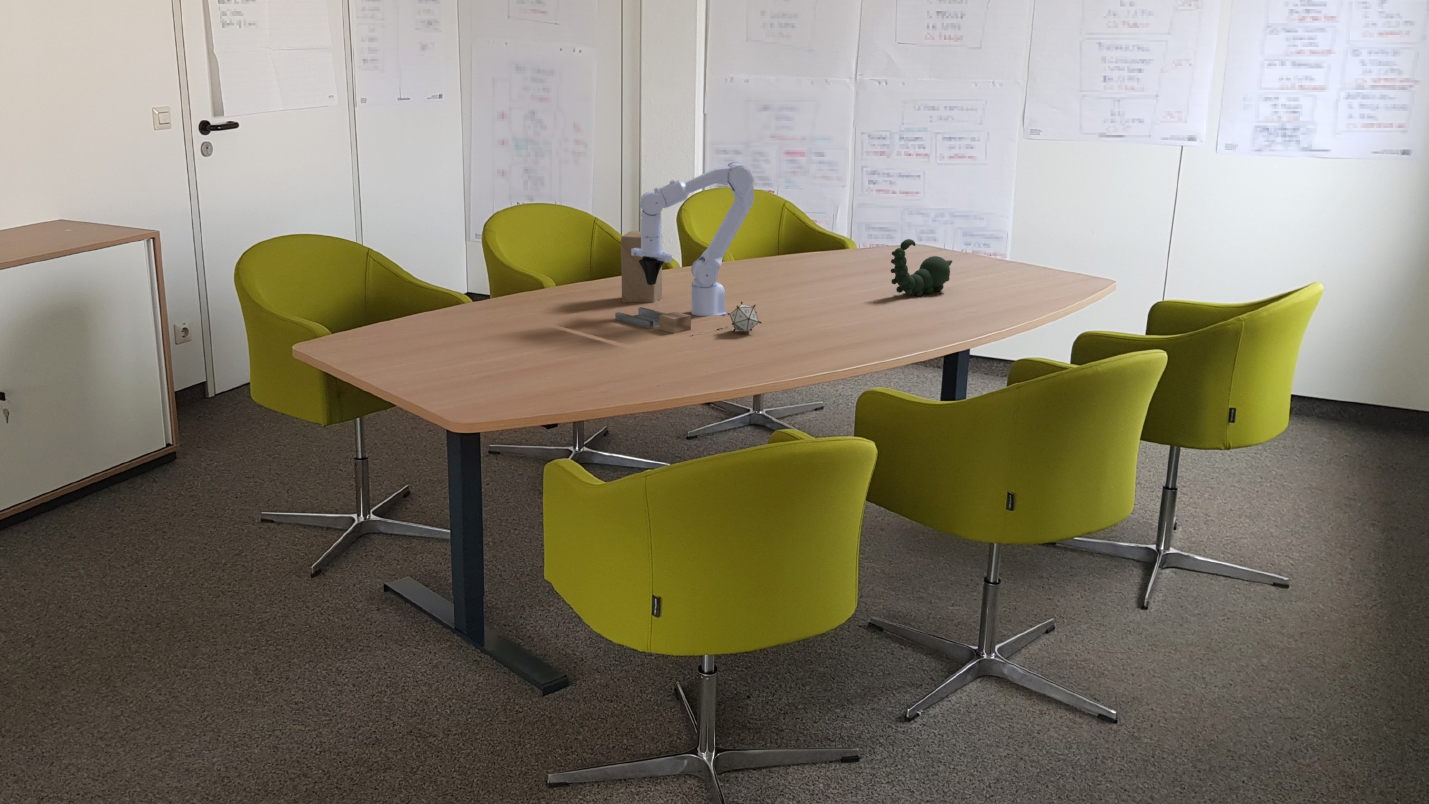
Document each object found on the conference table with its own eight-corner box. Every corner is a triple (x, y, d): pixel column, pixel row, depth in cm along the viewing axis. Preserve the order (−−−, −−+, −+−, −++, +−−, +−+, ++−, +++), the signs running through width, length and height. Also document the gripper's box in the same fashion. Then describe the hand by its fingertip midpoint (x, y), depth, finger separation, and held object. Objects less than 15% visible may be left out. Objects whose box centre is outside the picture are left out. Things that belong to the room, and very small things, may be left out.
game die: (741, 347, 324) (726, 322, 317) (733, 329, 330) (718, 304, 323) (770, 331, 323) (755, 306, 316) (761, 314, 329) (747, 288, 322)
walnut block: (676, 326, 327) (676, 311, 326) (690, 330, 323) (690, 315, 322) (659, 329, 323) (659, 315, 322) (674, 333, 319) (674, 319, 318)
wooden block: (654, 305, 354) (653, 237, 348) (621, 303, 356) (620, 236, 350) (662, 298, 363) (662, 232, 357) (630, 296, 365) (629, 230, 359)
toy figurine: (906, 306, 363) (963, 289, 377) (906, 245, 357) (963, 229, 370) (884, 300, 371) (940, 283, 384) (883, 240, 364) (941, 225, 378)
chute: (641, 316, 340) (641, 307, 339) (701, 332, 324) (701, 322, 323) (615, 322, 333) (615, 312, 332) (675, 338, 317) (675, 328, 316)
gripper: (623, 234, 335) (623, 282, 339) (658, 241, 325) (658, 290, 329) (641, 231, 340) (642, 278, 344) (677, 238, 330) (677, 286, 334)
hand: (651, 284), depth 337 cm, fingers closed
